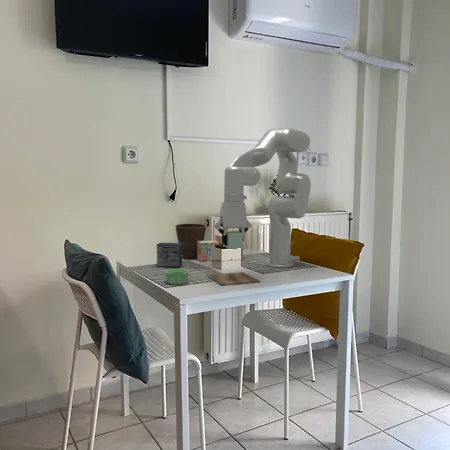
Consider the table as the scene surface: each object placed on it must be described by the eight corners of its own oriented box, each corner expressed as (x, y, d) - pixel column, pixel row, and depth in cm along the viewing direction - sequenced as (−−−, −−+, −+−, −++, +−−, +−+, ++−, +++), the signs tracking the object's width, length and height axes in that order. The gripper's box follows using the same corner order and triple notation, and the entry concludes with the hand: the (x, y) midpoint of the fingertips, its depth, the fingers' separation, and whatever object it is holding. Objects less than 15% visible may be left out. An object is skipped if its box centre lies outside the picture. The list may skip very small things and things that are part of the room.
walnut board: (242, 273, 191) (242, 272, 191) (259, 282, 176) (259, 280, 176) (206, 276, 185) (207, 275, 185) (221, 285, 170) (221, 284, 170)
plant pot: (205, 260, 217) (205, 227, 215) (174, 260, 216) (174, 227, 214) (206, 254, 231) (206, 223, 229) (176, 254, 231) (176, 223, 229)
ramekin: (183, 278, 181) (183, 268, 180) (192, 284, 173) (192, 272, 172) (162, 281, 177) (162, 270, 176) (170, 286, 169) (170, 274, 168)
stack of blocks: (200, 262, 213) (200, 236, 212) (196, 260, 219) (197, 234, 217) (242, 260, 220) (243, 234, 219) (238, 257, 226) (238, 233, 225)
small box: (182, 265, 206) (182, 242, 205) (180, 268, 200) (180, 244, 198) (160, 264, 207) (159, 241, 206) (156, 267, 201) (156, 244, 199)
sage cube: (236, 245, 182) (237, 230, 182) (243, 248, 177) (243, 232, 176) (223, 246, 180) (223, 231, 179) (228, 248, 175) (229, 233, 174)
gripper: (249, 198, 183) (248, 242, 185) (209, 198, 177) (209, 244, 179) (258, 199, 176) (256, 245, 178) (216, 199, 170) (215, 247, 172)
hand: (232, 244), depth 178 cm, fingers closed on sage cube, 6 cm apart
